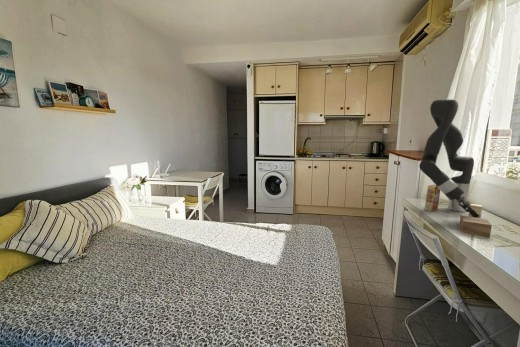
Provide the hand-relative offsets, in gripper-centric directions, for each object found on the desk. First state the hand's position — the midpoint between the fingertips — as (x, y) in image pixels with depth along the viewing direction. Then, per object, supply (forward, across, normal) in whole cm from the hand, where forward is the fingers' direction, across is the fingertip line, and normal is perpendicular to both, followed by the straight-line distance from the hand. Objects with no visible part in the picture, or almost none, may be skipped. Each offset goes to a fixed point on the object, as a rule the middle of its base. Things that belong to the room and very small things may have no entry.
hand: (477, 215), depth 127 cm
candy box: (-11, +19, +19) cm, 29 cm away
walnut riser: (+3, -11, +4) cm, 12 cm away
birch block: (+3, 0, +4) cm, 5 cm away
